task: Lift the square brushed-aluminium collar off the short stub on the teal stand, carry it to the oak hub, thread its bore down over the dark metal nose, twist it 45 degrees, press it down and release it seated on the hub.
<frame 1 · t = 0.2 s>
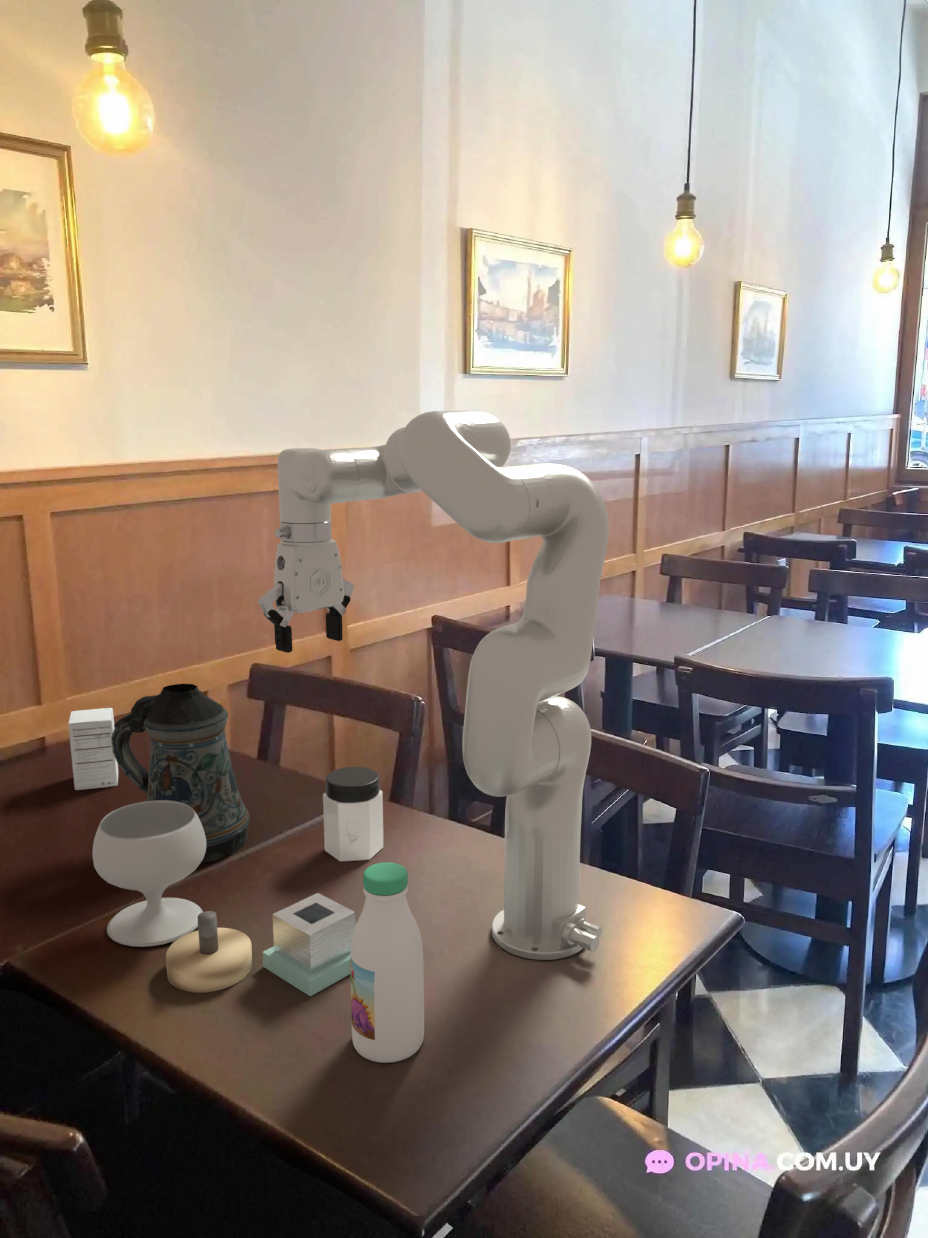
hand: (309, 645, 147), 31 cm above the table, fingers open, 9 cm apart
collar: (315, 950, 118), point 2 cm above the table, touching stand
stand: (315, 965, 118), on the table
hub: (210, 968, 118), on the table
supplement box: (97, 782, 175), on the table
milk bottle: (388, 1043, 104), on the table
chalice: (156, 925, 127), on the table
beer stein: (186, 844, 151), on the table
jar: (354, 850, 149), on the table
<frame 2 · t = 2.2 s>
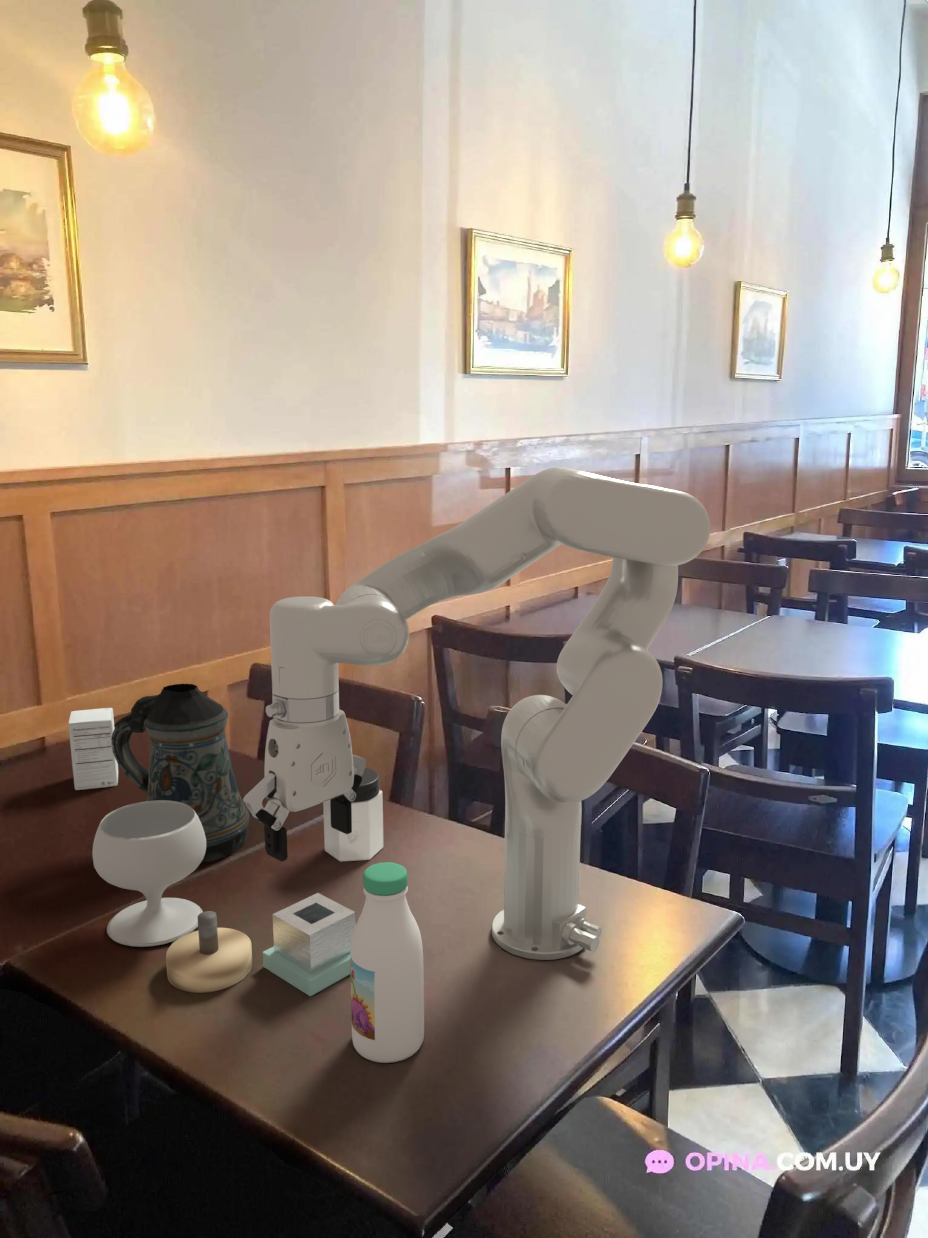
hand: (310, 843, 115), 16 cm above the table, fingers open, 9 cm apart
nothing on the table moved.
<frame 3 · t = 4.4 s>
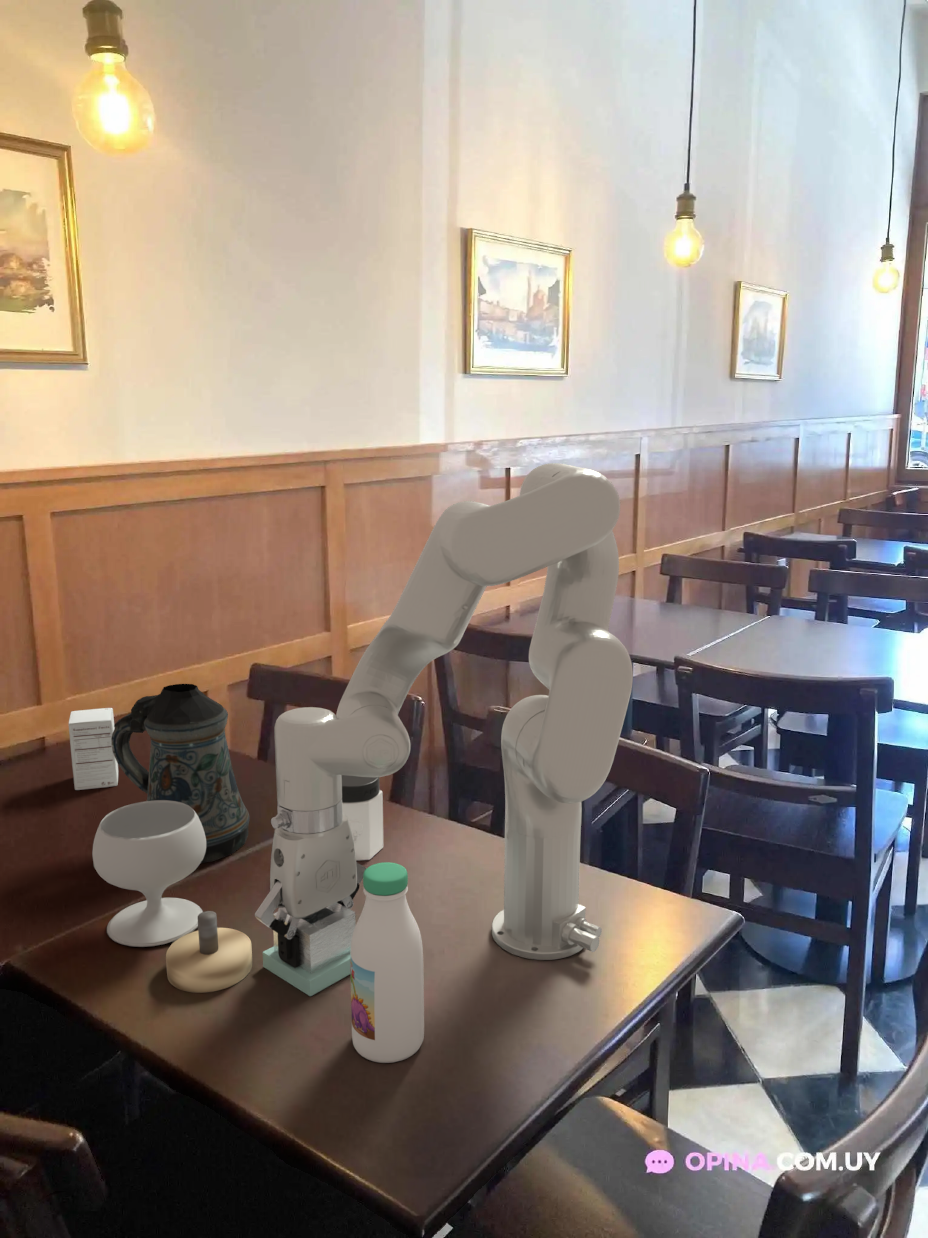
hand: (315, 948, 118), 2 cm above the table, fingers closed on collar, 7 cm apart
collar: (315, 950, 118), point 2 cm above the table, touching gripper, stand
everything else where it was.
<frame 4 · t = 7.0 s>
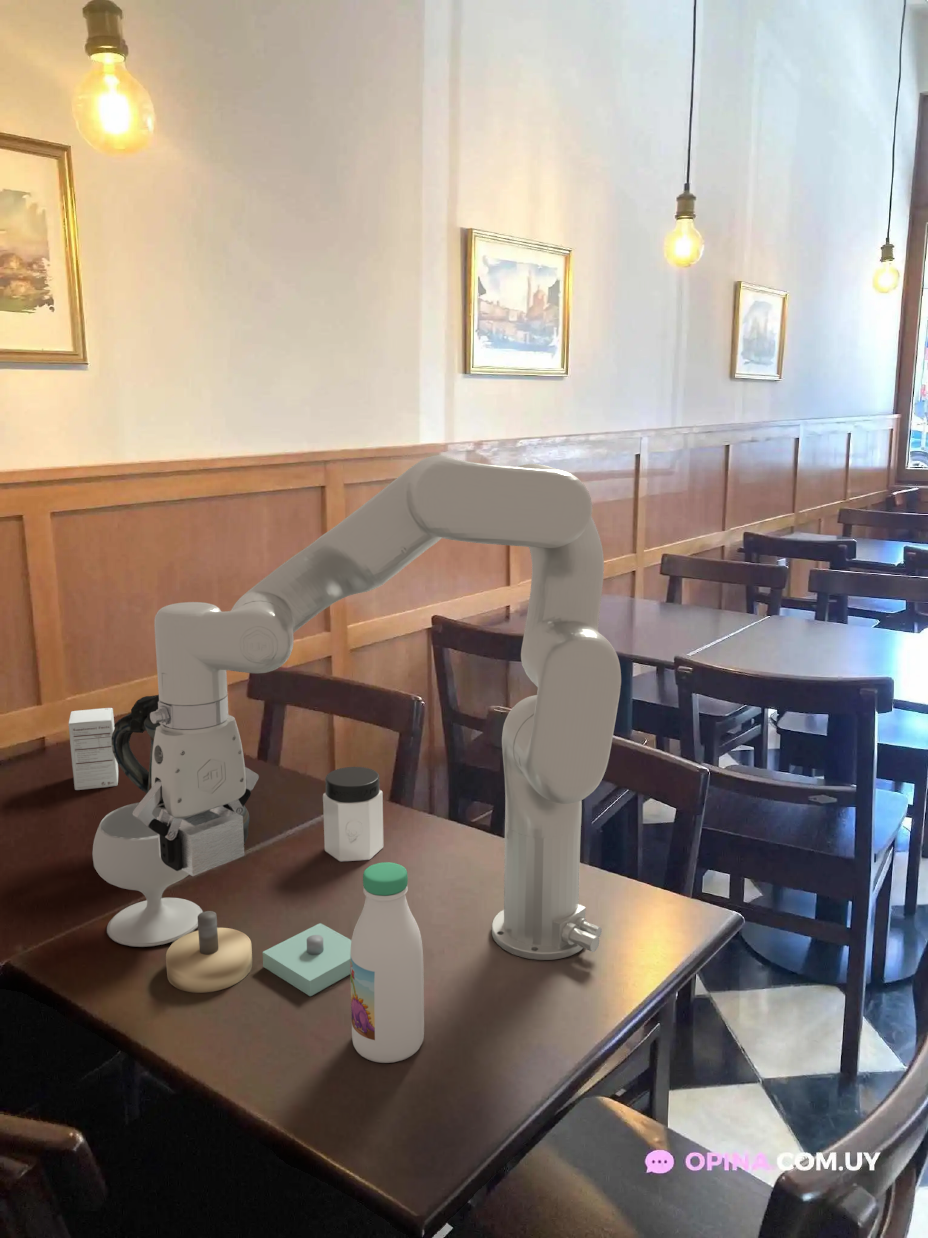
hand: (202, 854, 114), 15 cm above the table, fingers closed on collar, 7 cm apart
collar: (202, 856, 114), point 15 cm above the table, touching gripper
everything else where it was.
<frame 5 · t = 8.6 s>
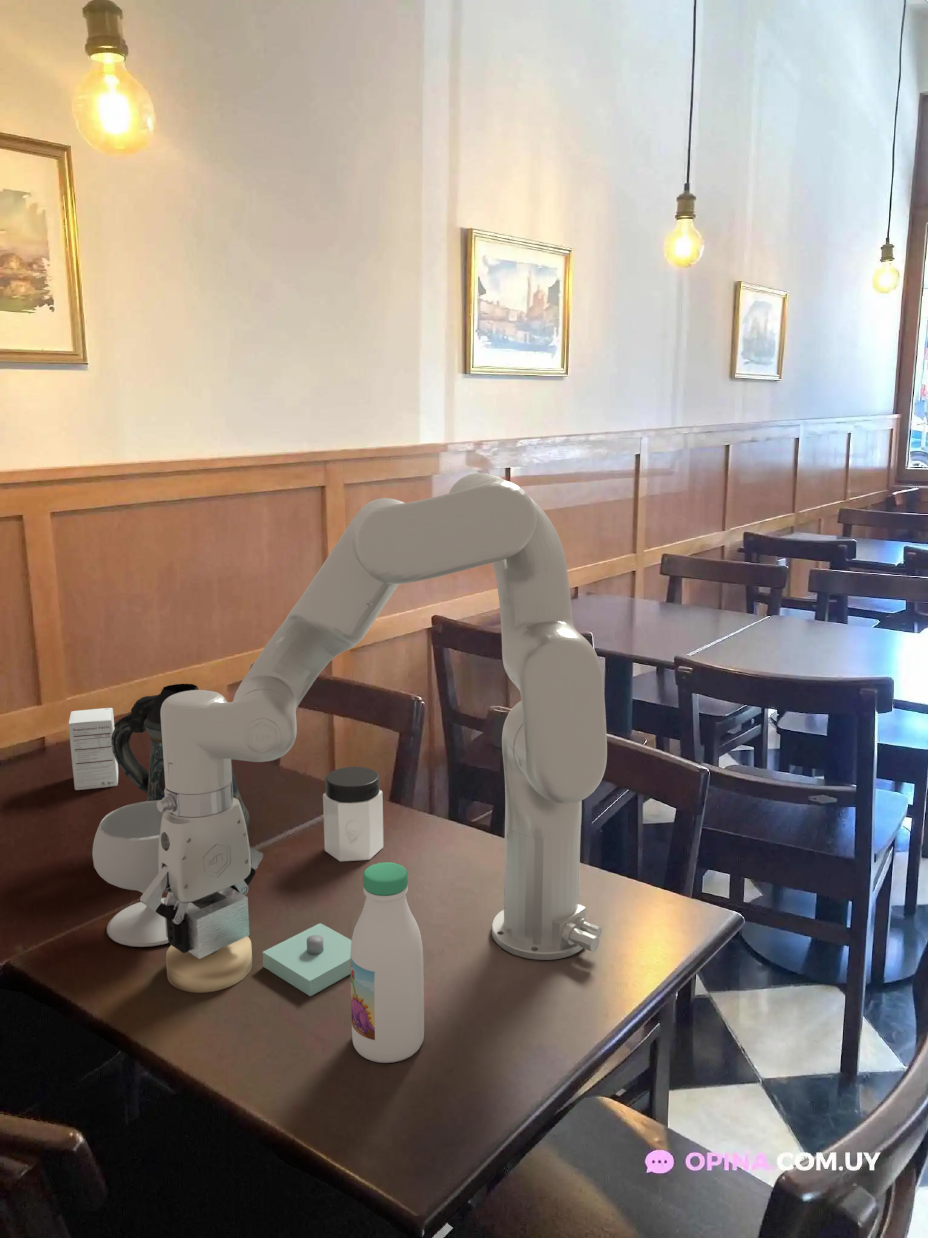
hand: (208, 934, 117), 5 cm above the table, fingers closed on collar, 7 cm apart
collar: (208, 935, 117), point 4 cm above the table, touching gripper
everything else where it was.
when the fingers open (3 cm above the table, at t = 10.0 s): collar stays where it is, resting on hub.
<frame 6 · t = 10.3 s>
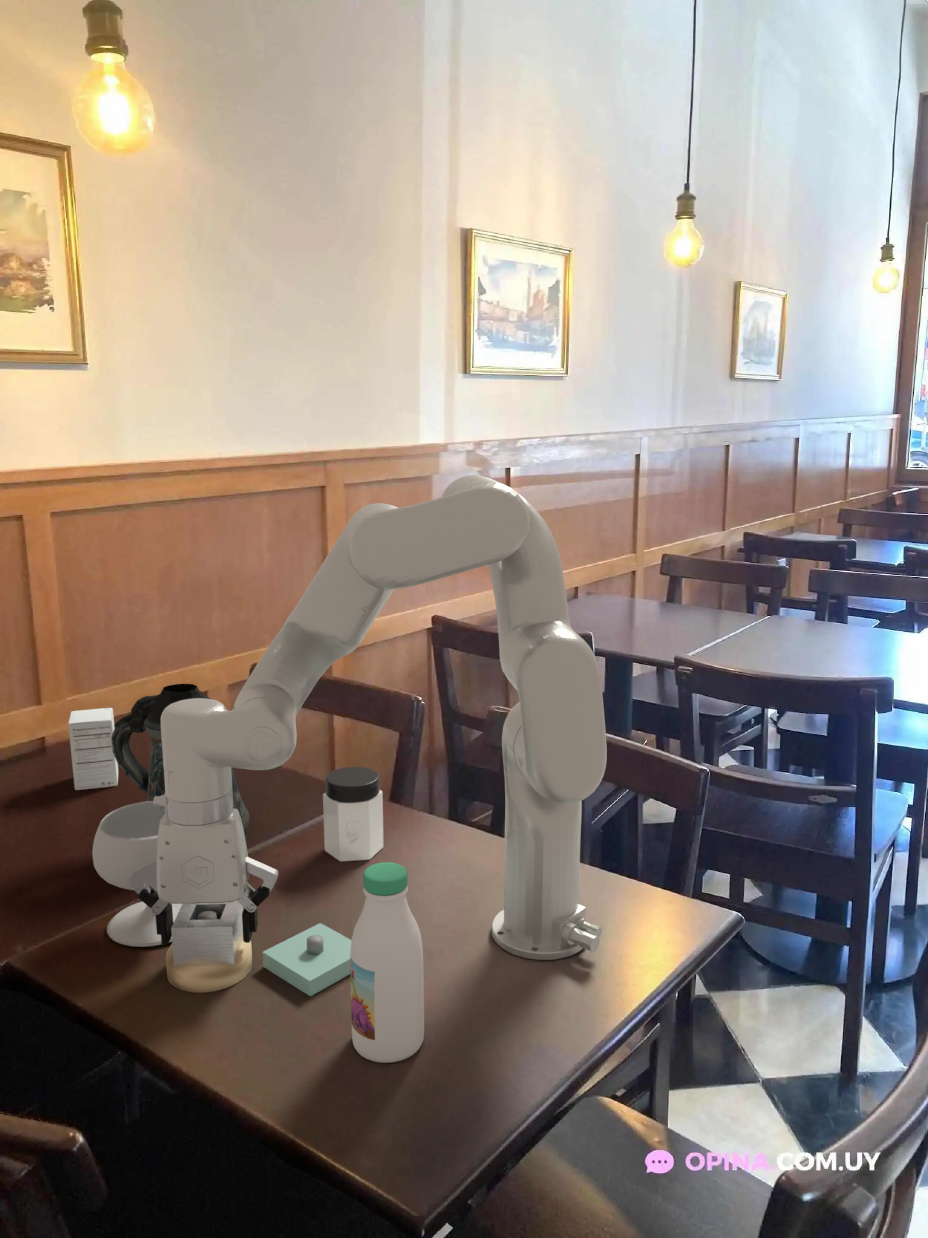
hand: (208, 937, 117), 4 cm above the table, fingers open, 9 cm apart
collar: (210, 949, 117), point 2 cm above the table, touching hub
everything else where it was.
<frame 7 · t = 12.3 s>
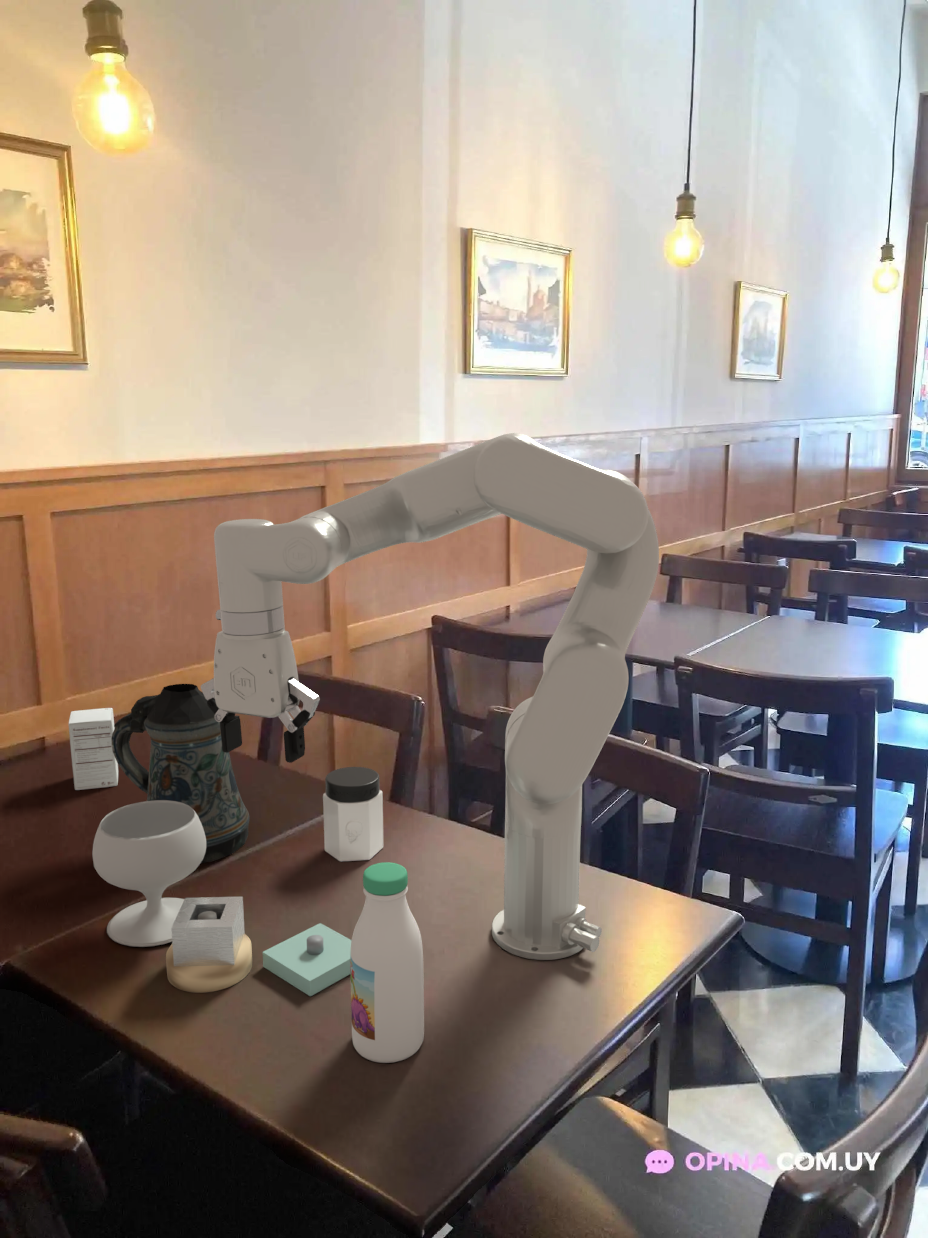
hand: (263, 753, 122), 24 cm above the table, fingers open, 9 cm apart
nothing on the table moved.
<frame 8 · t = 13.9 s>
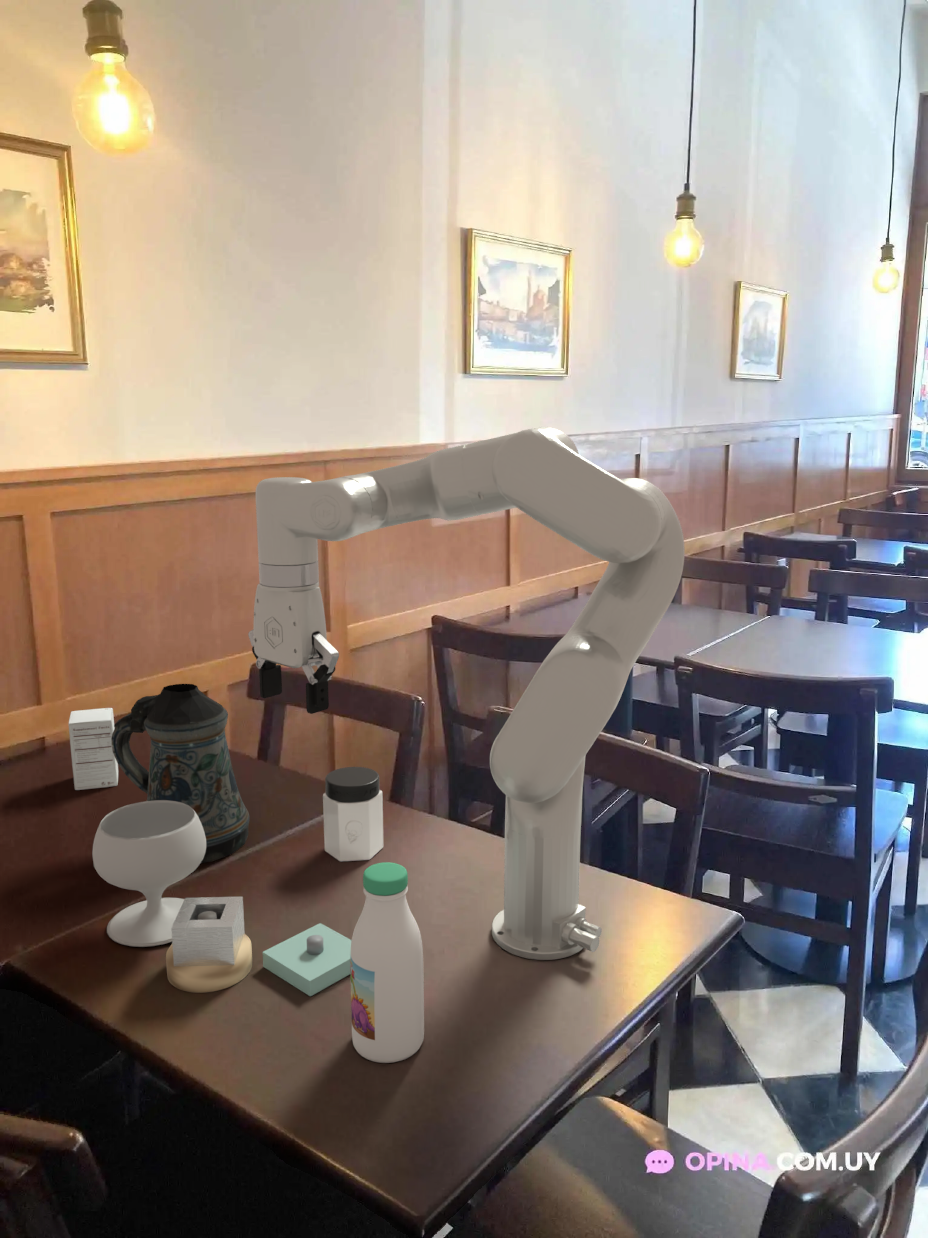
hand: (294, 703, 128), 28 cm above the table, fingers open, 9 cm apart
nothing on the table moved.
at the end: collar 0.1 cm off-centre on the hub, point 2.5 cm above the hub's base; collar tilted 0°; the gripper is holding nothing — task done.
